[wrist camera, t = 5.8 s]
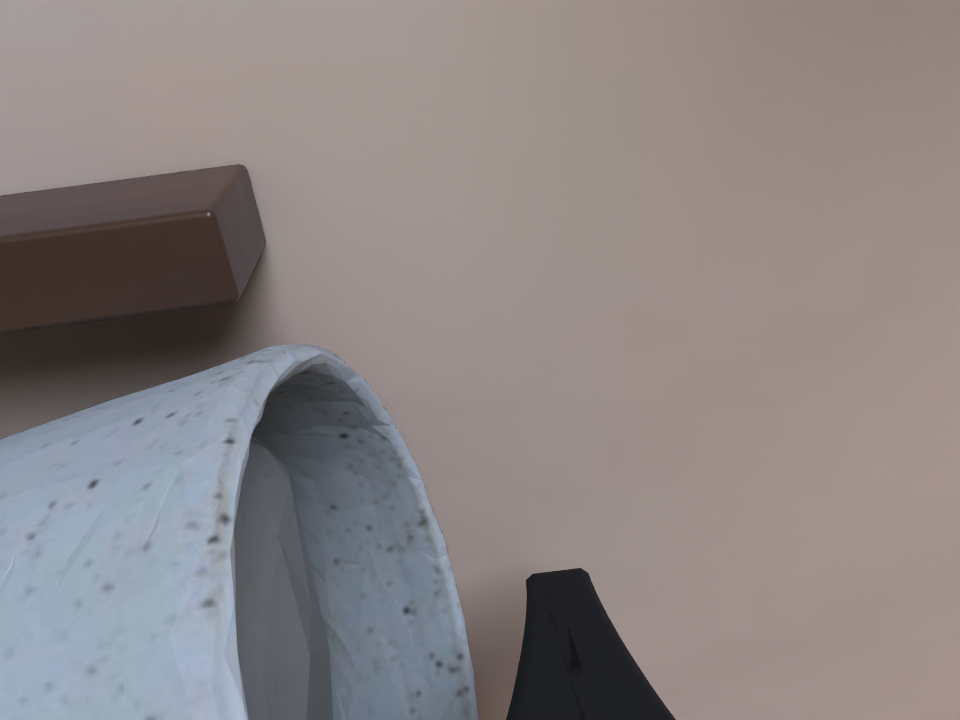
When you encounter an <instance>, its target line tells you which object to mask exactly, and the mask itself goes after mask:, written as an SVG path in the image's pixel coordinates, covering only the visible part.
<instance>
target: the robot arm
mask: <svg viewBox="0 0 960 720" xmlns="http://www.w3.org/2000/svg"><path fill="white" fill-rule="evenodd" d="M526 588H527V609H526V621H525V630H524V637H523V644H522V651H521V656H520V661H519V666H518V671H517V676H516V681H515V686H514V691H513V695H512V699H511V703H510V707H509V711H508V714H507V718H506V720H675V718H674V717H673V715H672V714H671V713H670V711H669V710H668V709H667V707H666V706H665V705H664V703H663V702H662V701H661V699H660V698H659V696H658V695H657V693H656V692H655V691H654V689H653V688H652V686H651V685H650V683H649V682H648V680H647V679H646V677H645V676H644V674H643V673H642V671H641V670H640V668H639V667H638V665H637V664H636V662H635V660H634V659H633V657H632V656H631V654H630V653H629V651H628V650H627V648H626V646H625V645H624V643H623V641H622V640H621V638H620V636H619V635H618V633H617V631H616V629H615V628H614V626H613V624H612V622H611V621H610V619H609V617H608V615H607V613H606V611H605V609H604V608H603V606H602V604H601V602H600V600H599V598H598V595H597V593H596V591H595V589H594V586H593V584H592V582H591V579H590V576H589V574H588V573H587V572H586V571H584V570H583V569H581V568H578V569H569V570H561V571H553V572H545V573H536V574H532V575H531V576H530V577H529V578H528V579H527V580H526Z"/></svg>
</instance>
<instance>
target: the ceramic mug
mask: <svg viewBox="0 0 960 720" xmlns="http://www.w3.org/2000/svg"><path fill="white" fill-rule="evenodd" d="M0 720H479V716H478V707H477V699H476V690H475V681H474V672H473V667H472V662H471V657H470V652H469V647H468V640H467V634H466V628H465V622H464V616H463V612H462V609H461V605H460V602H459V598H458V593H457V588H456V583H455V579H454V575H453V571H452V567H451V563H450V559H449V555H448V552H447V548H446V544H445V540H444V537H443V535H442V533H441V530H440V528H439V526H438V523H437V521H436V519H435V516H434V514H433V511H432V509H431V506H430V503H429V501H428V498H427V494H426V491H425V488H424V484H423V481H422V478H421V475H420V473H419V470H418V468H417V465H416V464H415V462H414V460H413V458H412V456H411V454H410V452H409V450H408V448H407V446H406V444H405V442H404V440H403V438H402V436H401V434H400V432H399V431H398V429H397V427H396V426H395V423H394V421H393V418H392V416H391V415H390V414H389V413H388V411H387V410H386V409H385V408H384V407H383V405H382V404H381V402H380V400H379V397H378V396H377V394H376V393H375V392H374V390H373V389H372V388H371V387H370V385H369V384H368V383H367V381H366V380H365V379H364V378H362V377H361V376H360V375H359V374H358V373H356V372H355V371H354V370H353V369H351V368H350V367H349V366H348V365H347V364H346V363H345V362H344V361H343V360H342V359H341V358H340V357H339V356H337V355H335V354H333V353H331V352H329V351H327V350H325V349H322V348H320V347H317V346H310V345H302V344H289V345H279V346H270V347H267V348H265V349H262V350H259V351H257V352H254V353H251V354H249V355H246V356H243V357H240V358H238V359H235V360H232V361H230V362H227V363H224V364H221V365H218V366H216V367H213V368H210V369H207V370H204V371H201V372H198V373H196V374H193V375H190V376H187V377H184V378H180V379H177V380H174V381H171V382H168V383H164V384H161V385H158V386H155V387H152V388H148V389H145V390H142V391H139V392H136V393H132V394H129V395H126V396H123V397H120V398H116V399H113V400H110V401H107V402H104V403H102V404H99V405H96V406H93V407H90V408H87V409H84V410H82V411H79V412H76V413H73V414H70V415H67V416H65V417H62V418H59V419H56V420H53V421H50V422H47V423H45V424H42V425H39V426H36V427H33V428H30V429H27V430H25V431H22V432H19V433H16V434H13V435H10V436H8V437H5V438H2V439H0Z"/></svg>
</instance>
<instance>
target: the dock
mask: <svg viewBox="0 0 960 720" xmlns="http://www.w3.org/2000/svg"><path fill="white" fill-rule="evenodd" d="M265 242H266V240H265V236H264V232H263V228H262V225H261V221H260V217H259V213H258V209H257V205H256V202H255V198H254V194H253V190H252V186H251V182H250V178H249V175H248V171H247V169H246V167H245V166H244V165H239V164H237V165H230V166H222V167H215V168H207V169H200V170H192V171H185V172H177V173H169V174H162V175H154V176H147V177H139V178H132V179H124V180H116V181H109V182H101V183H94V184H86V185H79V186H71V187H64V188H56V189H48V190H41V191H33V192H26V193H18V194H11V195H3V196H0V333H5V332H13V331H20V330H28V329H36V328H43V327H51V326H59V325H67V324H74V323H82V322H90V321H97V320H105V319H113V318H121V317H128V316H136V315H144V314H151V313H159V312H167V311H174V310H182V309H190V308H198V307H205V306H213V305H221V304H228V303H234V302H236V301H238V300H239V298H240V296H241V294H242V292H243V290H244V288H245V286H246V284H247V282H248V280H249V278H250V276H251V273H252V271H253V269H254V267H255V265H256V263H257V261H258V259H259V257H260V255H261V253H262V251H263V249H264V246H265Z"/></svg>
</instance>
